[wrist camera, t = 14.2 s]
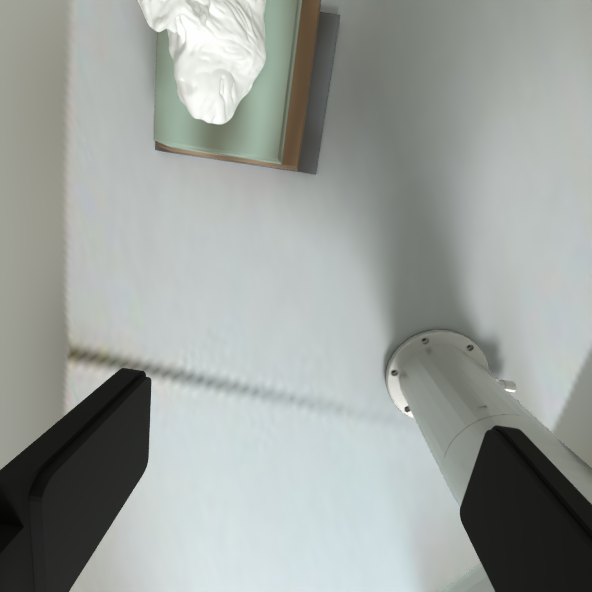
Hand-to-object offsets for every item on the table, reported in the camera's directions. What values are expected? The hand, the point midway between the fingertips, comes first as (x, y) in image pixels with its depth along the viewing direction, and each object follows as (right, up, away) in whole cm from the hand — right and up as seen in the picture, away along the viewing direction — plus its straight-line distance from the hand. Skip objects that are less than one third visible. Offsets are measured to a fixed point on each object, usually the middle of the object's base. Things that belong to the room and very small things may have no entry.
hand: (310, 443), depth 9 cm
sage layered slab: (-6, +26, +27) cm, 38 cm away
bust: (-6, +24, +19) cm, 31 cm away
